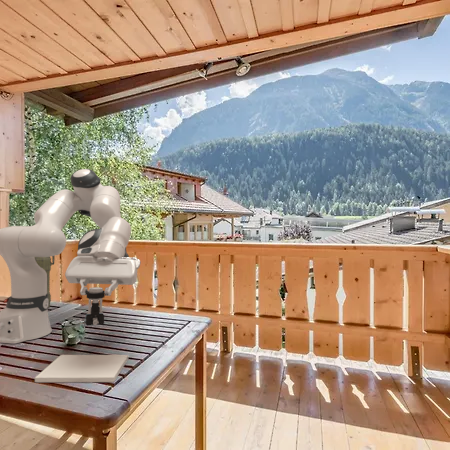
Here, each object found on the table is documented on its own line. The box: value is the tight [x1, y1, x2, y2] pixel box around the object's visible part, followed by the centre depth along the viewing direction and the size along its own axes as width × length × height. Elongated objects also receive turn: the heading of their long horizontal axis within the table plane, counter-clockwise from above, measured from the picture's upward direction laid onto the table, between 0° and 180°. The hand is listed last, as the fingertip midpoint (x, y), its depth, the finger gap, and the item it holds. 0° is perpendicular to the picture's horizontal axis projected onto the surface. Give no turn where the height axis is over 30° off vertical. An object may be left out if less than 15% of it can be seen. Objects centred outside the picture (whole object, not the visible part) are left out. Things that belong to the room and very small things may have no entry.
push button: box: [78, 286, 106, 326], centre depth 91 cm, size 7×5×10 cm
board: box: [34, 354, 129, 383], centre depth 90 cm, size 20×14×1 cm
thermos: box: [34, 255, 56, 309], centre depth 152 cm, size 9×12×35 cm
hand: (95, 294), depth 91 cm, fingers closed on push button, 5 cm apart
